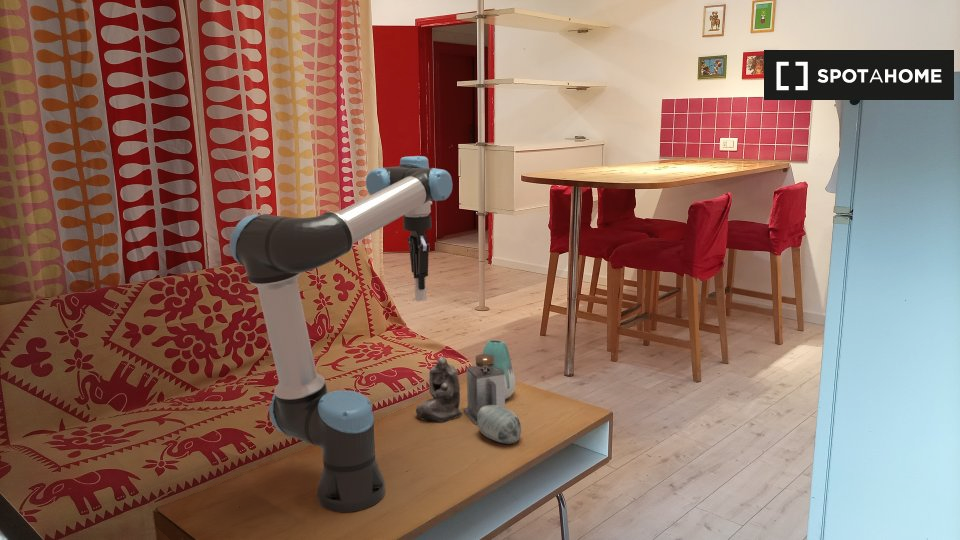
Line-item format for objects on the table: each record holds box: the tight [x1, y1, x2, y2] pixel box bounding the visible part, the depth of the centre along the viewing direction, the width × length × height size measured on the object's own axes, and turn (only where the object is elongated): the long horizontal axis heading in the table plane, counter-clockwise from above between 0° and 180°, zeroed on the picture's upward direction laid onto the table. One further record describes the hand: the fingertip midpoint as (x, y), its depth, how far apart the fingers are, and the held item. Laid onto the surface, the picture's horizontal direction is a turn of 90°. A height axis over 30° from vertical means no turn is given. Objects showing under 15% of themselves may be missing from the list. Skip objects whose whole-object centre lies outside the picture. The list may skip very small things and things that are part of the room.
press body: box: [463, 364, 506, 426], centre depth 203 cm, size 10×12×14 cm
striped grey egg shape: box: [477, 405, 522, 445], centre depth 191 cm, size 14×10×10 cm
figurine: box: [415, 356, 463, 423], centre depth 205 cm, size 13×12×18 cm
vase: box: [482, 339, 516, 400], centre depth 217 cm, size 12×12×18 cm
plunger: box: [475, 353, 494, 372], centre depth 203 cm, size 6×6×13 cm
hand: (420, 300), depth 198 cm, fingers closed
